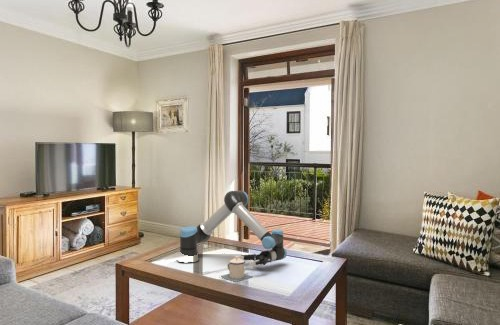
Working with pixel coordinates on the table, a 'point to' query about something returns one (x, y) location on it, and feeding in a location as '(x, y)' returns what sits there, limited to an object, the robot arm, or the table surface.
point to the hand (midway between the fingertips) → (243, 262)
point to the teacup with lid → (236, 268)
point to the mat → (235, 279)
